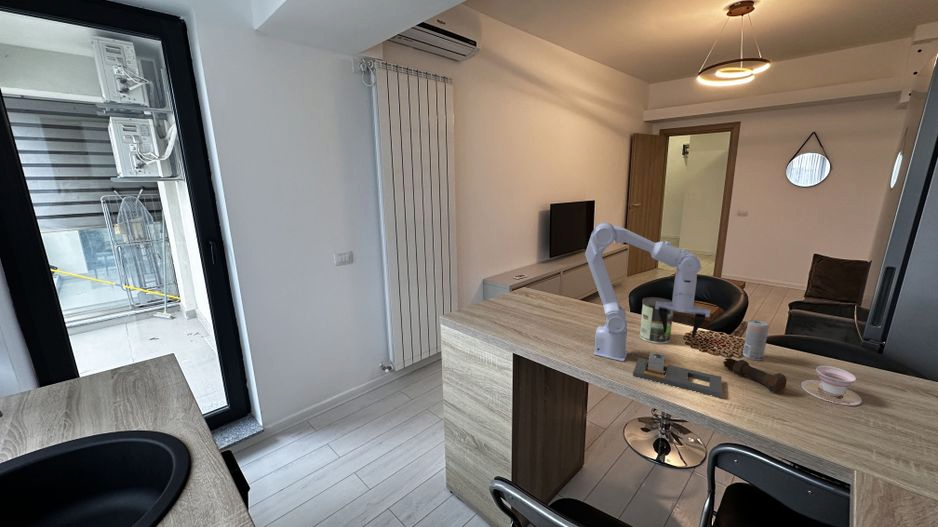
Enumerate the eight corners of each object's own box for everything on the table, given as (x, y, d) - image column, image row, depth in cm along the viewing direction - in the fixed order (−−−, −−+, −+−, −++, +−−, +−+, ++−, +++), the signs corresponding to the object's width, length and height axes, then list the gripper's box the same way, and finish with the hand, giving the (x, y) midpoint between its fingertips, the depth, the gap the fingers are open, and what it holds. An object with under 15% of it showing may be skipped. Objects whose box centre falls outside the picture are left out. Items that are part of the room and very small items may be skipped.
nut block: (646, 375, 111) (648, 357, 110) (648, 369, 114) (650, 351, 113) (661, 379, 109) (664, 360, 108) (663, 373, 112) (665, 354, 111)
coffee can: (674, 338, 136) (679, 301, 133) (663, 346, 129) (667, 308, 126) (646, 329, 143) (649, 295, 140) (633, 337, 137) (637, 301, 134)
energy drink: (760, 355, 122) (766, 321, 120) (765, 362, 118) (771, 327, 115) (740, 352, 125) (746, 318, 122) (744, 359, 120) (750, 324, 117)
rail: (632, 376, 111) (633, 371, 110) (638, 362, 119) (638, 357, 119) (721, 398, 99) (722, 392, 99) (720, 381, 107) (721, 376, 107)
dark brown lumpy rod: (726, 372, 116) (780, 396, 102) (717, 367, 114) (771, 391, 100) (735, 355, 116) (790, 377, 102) (726, 350, 114) (780, 372, 100)
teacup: (868, 412, 93) (874, 390, 92) (805, 398, 99) (810, 377, 98) (853, 389, 103) (858, 368, 102) (796, 377, 109) (800, 358, 108)
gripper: (655, 292, 113) (651, 333, 116) (712, 300, 106) (706, 344, 109) (658, 286, 119) (654, 325, 122) (712, 293, 111) (706, 335, 115)
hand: (678, 333), depth 116 cm, fingers open, 7 cm apart
